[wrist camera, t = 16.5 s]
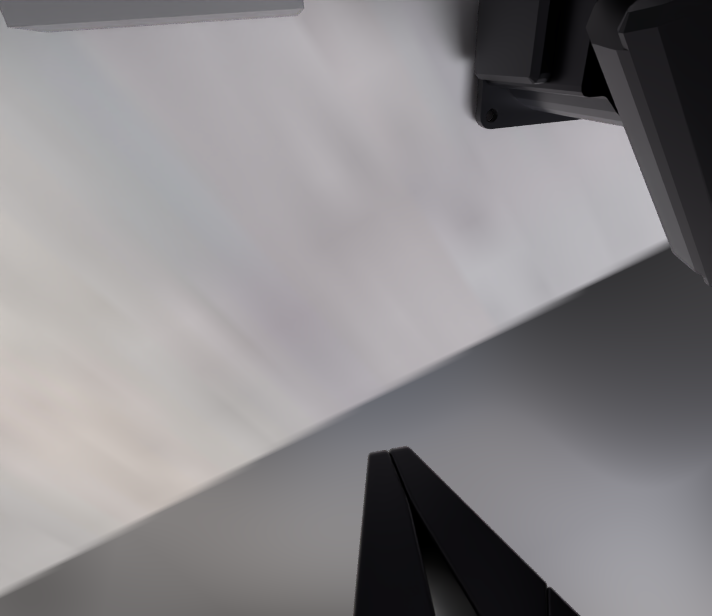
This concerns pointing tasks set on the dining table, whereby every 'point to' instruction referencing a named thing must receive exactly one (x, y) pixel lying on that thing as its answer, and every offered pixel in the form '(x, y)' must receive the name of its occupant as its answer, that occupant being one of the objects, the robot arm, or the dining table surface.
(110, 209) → the dining table surface
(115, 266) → the dining table surface
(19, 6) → the button collar
